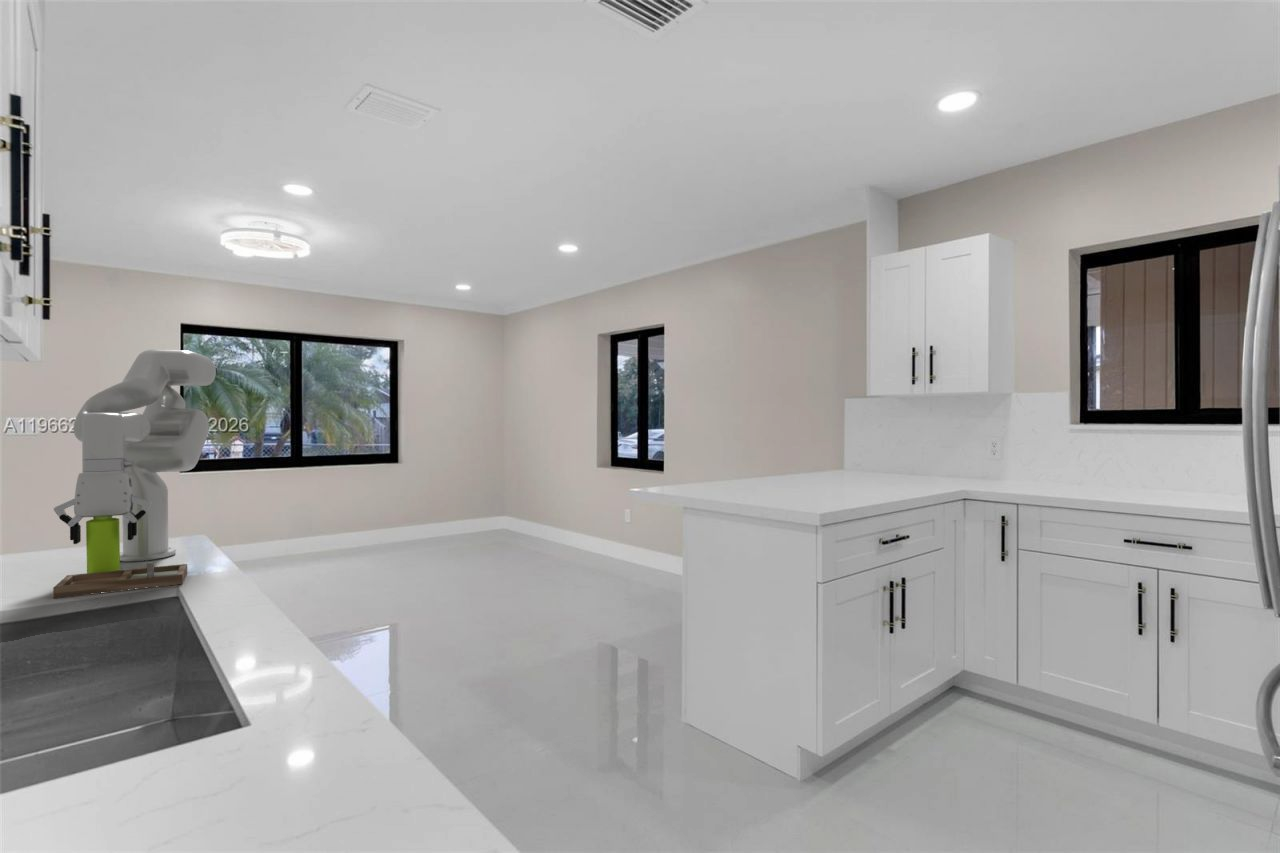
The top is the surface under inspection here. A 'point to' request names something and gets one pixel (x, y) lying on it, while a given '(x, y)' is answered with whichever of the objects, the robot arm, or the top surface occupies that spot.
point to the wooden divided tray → (120, 580)
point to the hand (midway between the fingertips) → (104, 541)
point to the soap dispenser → (103, 544)
